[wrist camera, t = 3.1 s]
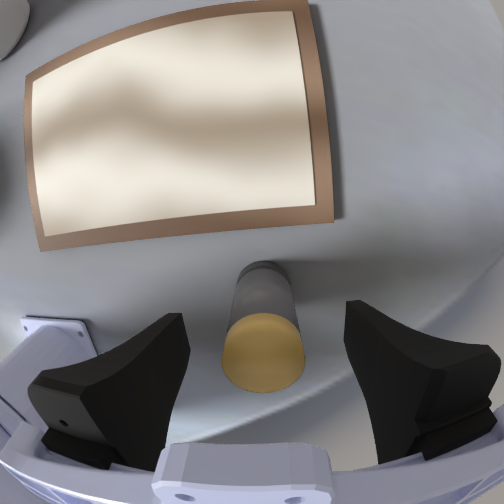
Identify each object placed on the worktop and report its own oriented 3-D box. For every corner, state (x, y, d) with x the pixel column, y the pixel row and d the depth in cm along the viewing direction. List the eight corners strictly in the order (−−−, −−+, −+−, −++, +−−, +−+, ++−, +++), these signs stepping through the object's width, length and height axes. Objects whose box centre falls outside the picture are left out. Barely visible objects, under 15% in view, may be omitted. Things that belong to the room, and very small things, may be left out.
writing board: (331, 220, 15) (334, 222, 14) (45, 249, 16) (39, 252, 16) (306, 4, 11) (307, -2, 10) (31, 76, 12) (25, 75, 12)
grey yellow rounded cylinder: (290, 306, 17) (304, 389, 10) (240, 310, 17) (227, 393, 10) (288, 258, 16) (305, 327, 9) (234, 263, 16) (215, 332, 9)
